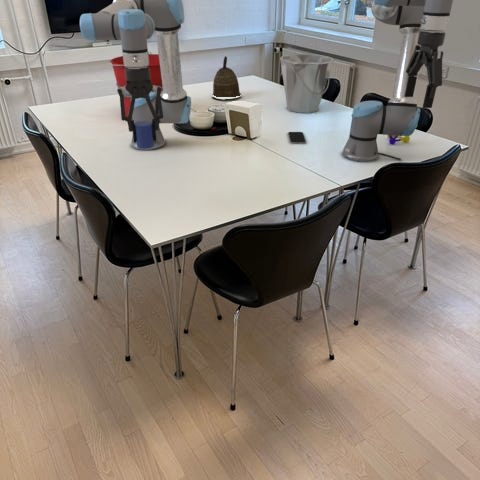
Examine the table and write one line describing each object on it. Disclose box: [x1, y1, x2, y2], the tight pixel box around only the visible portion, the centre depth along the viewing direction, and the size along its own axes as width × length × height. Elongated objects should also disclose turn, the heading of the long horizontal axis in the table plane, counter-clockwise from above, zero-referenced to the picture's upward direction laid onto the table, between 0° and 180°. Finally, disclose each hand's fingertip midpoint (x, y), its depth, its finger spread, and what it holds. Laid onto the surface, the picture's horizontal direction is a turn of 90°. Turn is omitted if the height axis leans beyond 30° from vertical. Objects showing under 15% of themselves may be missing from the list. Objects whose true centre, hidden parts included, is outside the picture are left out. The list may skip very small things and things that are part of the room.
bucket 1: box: [107, 51, 163, 120], centre depth 241 cm, size 35×35×30 cm
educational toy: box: [387, 123, 418, 145], centre depth 207 cm, size 16×13×15 cm
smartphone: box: [288, 131, 307, 144], centre depth 215 cm, size 7×1×15 cm
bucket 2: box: [279, 53, 334, 114], centre depth 253 cm, size 30×30×28 cm
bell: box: [212, 56, 242, 97], centre depth 278 cm, size 19×26×20 cm
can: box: [134, 121, 155, 149], centre depth 146 cm, size 6×6×8 cm
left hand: (145, 140), depth 147 cm, fingers closed on can, 6 cm apart
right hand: (417, 102), depth 145 cm, fingers open, 13 cm apart
